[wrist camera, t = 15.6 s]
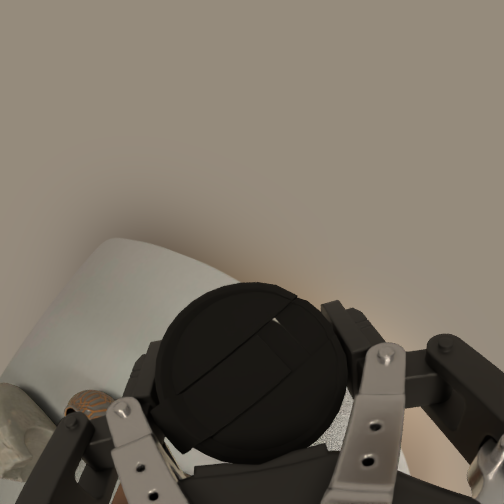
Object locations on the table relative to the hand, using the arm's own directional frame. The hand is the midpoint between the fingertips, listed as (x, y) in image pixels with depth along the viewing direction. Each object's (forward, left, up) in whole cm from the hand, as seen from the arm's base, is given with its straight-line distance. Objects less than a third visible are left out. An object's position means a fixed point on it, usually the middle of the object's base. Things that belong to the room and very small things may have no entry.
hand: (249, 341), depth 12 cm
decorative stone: (+27, +26, -26) cm, 46 cm away
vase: (+17, +15, -26) cm, 35 cm away
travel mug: (-1, +1, -17) cm, 17 cm away
